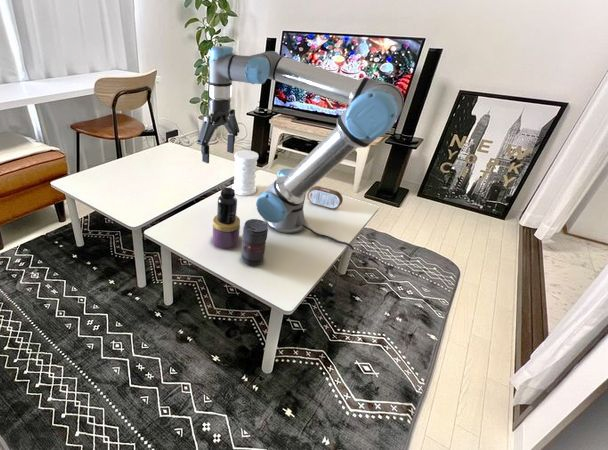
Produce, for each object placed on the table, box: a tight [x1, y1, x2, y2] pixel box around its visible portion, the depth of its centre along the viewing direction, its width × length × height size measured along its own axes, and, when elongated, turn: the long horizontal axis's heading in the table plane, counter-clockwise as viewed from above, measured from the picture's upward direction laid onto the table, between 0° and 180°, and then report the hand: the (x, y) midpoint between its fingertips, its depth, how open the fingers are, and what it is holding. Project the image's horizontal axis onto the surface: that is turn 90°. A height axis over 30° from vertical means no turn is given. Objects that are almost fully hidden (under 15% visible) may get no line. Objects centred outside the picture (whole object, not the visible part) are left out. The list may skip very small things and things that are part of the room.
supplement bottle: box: [216, 187, 238, 224], centre depth 121 cm, size 7×7×12 cm
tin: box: [307, 185, 344, 210], centre depth 150 cm, size 15×3×8 cm, turn 58°
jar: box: [212, 225, 241, 250], centre depth 127 cm, size 10×10×9 cm
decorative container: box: [231, 149, 260, 196], centre depth 160 cm, size 12×12×18 cm
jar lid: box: [212, 214, 241, 232], centre depth 125 cm, size 10×10×2 cm
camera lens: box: [241, 218, 269, 267], centre depth 116 cm, size 8×8×15 cm
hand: (218, 157), depth 127 cm, fingers open, 13 cm apart
